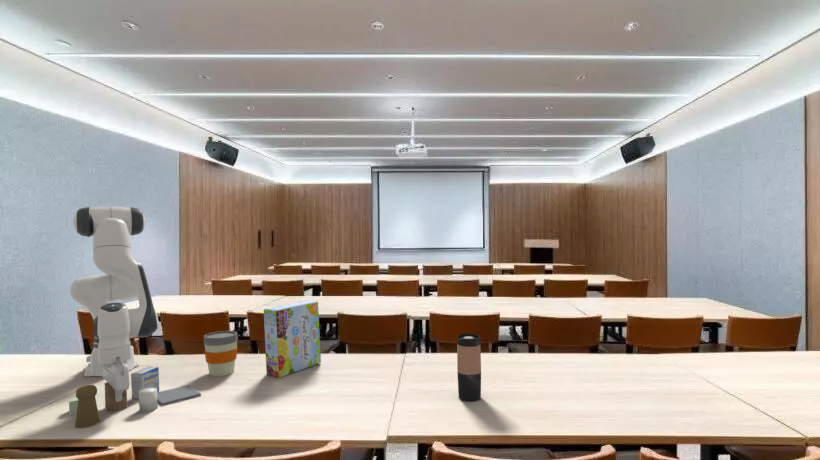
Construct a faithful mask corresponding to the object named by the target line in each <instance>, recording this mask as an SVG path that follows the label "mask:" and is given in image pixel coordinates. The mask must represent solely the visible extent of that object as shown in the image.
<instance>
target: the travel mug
mask: <svg viewBox="0 0 820 460" xmlns="http://www.w3.org/2000/svg"><path fill="white" fill-rule="evenodd" d="M456 340H457V341H456V345H457V347H456V352H457V353H456V358H457V360H456V362H457V364H456V365H457V385H458V386H457V389H458V399H459V400H461V401H463V402H468V403H469V402H471V403H473V402H477V401H480V400H481V397H482V356H481V355H482V353H481V350H482V349H481V336H480V335H479V334H475V333H462V334H458V335H457V337H456Z"/></svg>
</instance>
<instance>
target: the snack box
mask: <svg viewBox="0 0 820 460" xmlns="http://www.w3.org/2000/svg"><path fill="white" fill-rule="evenodd" d="M319 316H320V315H319V302H318V301H311V300H302V301H297V302H292V303H287V304H281V305H278V306H273V307H269V308H268V307H267V308H264V309H263V320H264V321H263V322H264V323H263V324H264V347H265V369H266V371H265V372H266V375H268V376H271V377H276V378H279V379H280V378H283V377H284V376H288V375H291V374H293V373H296V372H299V371H302V370H304V369H307V368H311V367H312V366H316V365H318V364H321V363H322V358H321V356H322V355H321V337H320V335H321V334H320V317H319Z"/></svg>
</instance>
